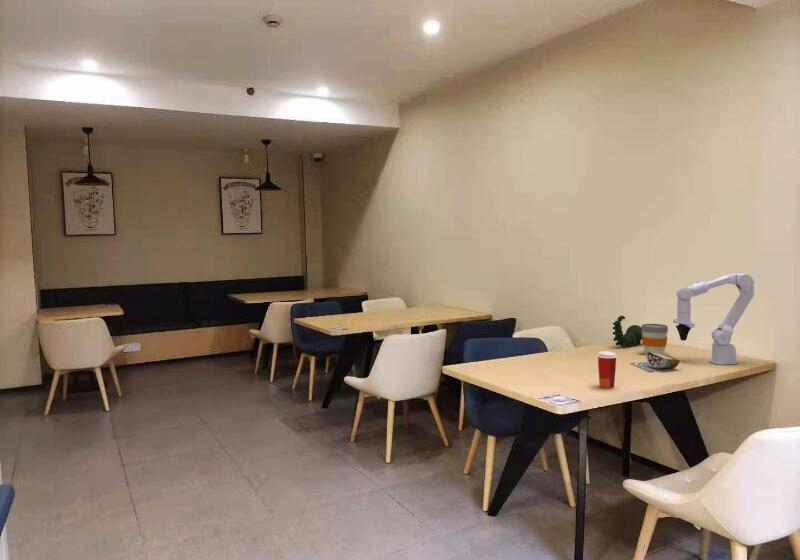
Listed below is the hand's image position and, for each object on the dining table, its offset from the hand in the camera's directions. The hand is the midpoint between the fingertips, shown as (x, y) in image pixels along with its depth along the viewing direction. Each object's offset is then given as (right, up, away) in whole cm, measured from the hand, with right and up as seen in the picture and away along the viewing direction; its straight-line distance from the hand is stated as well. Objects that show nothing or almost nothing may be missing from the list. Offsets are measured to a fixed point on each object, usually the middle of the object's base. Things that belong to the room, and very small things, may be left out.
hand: (683, 340), depth 269 cm
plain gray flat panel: (-19, -12, -9) cm, 24 cm away
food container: (-11, -10, -11) cm, 18 cm away
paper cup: (-52, -15, -39) cm, 67 cm away
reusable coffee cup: (-6, -9, +17) cm, 21 cm away
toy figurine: (-9, -8, +40) cm, 42 cm away
